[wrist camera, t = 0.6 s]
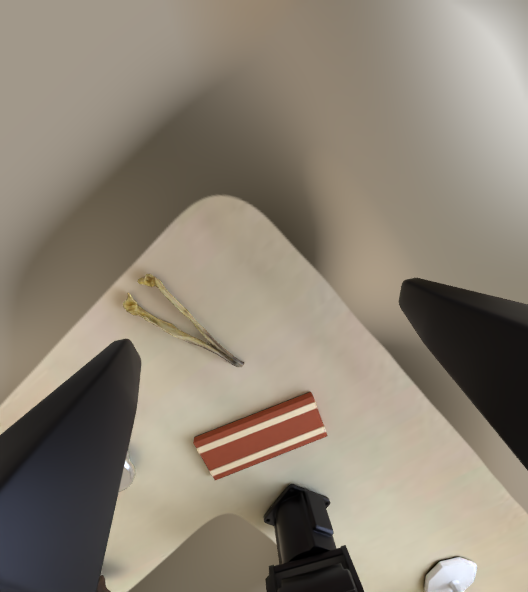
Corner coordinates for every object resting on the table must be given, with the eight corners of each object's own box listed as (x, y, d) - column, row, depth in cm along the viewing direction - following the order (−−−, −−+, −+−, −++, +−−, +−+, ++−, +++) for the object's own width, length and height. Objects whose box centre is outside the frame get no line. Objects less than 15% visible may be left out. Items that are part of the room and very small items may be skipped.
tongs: (236, 371, 27) (236, 382, 25) (124, 301, 24) (114, 307, 22) (260, 341, 26) (262, 350, 24) (148, 266, 24) (140, 269, 22)
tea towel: (310, 391, 29) (313, 396, 28) (325, 430, 30) (327, 436, 30) (194, 437, 29) (193, 443, 28) (215, 474, 30) (214, 481, 29)
